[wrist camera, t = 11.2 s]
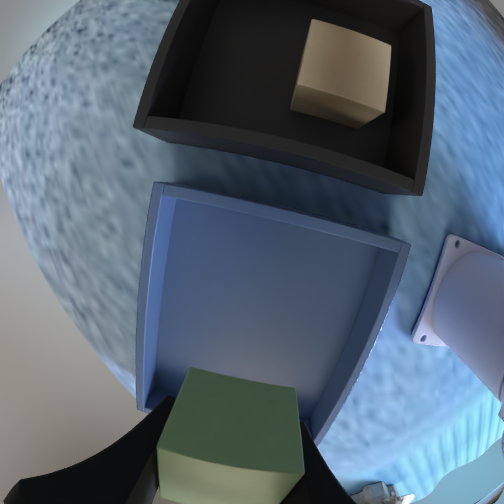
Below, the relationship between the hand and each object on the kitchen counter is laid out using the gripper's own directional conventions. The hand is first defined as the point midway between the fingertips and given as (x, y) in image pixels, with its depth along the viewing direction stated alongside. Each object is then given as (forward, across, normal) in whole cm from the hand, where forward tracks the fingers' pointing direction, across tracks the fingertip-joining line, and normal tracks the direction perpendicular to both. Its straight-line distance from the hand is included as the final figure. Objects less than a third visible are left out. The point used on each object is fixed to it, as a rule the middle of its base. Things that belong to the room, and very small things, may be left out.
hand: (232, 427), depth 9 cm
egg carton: (+9, -20, +25) cm, 33 cm away
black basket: (+8, 0, -16) cm, 18 cm away
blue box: (+8, 0, 0) cm, 8 cm away
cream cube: (+8, -2, -15) cm, 17 cm away
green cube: (+1, 0, 0) cm, 1 cm away
